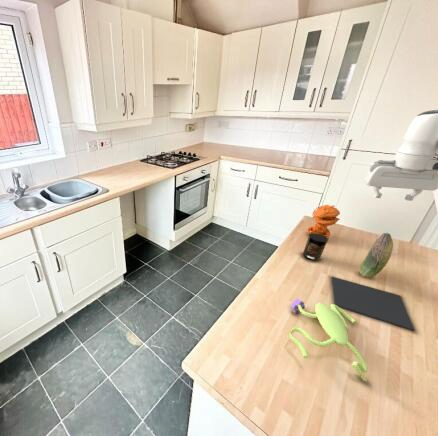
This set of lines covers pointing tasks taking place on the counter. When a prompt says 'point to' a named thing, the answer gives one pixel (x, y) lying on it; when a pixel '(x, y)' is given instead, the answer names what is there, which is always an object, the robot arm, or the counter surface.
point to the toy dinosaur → (324, 220)
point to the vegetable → (377, 256)
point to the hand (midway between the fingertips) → (392, 198)
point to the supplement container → (314, 247)
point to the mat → (371, 302)
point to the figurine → (329, 330)
